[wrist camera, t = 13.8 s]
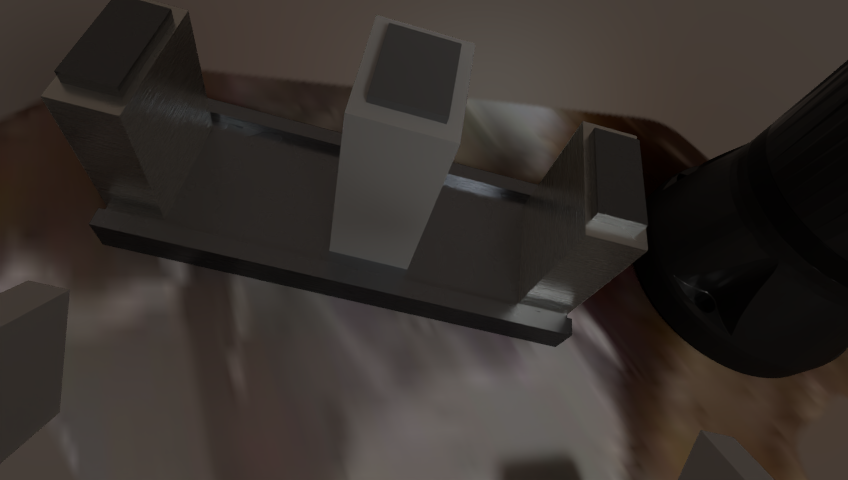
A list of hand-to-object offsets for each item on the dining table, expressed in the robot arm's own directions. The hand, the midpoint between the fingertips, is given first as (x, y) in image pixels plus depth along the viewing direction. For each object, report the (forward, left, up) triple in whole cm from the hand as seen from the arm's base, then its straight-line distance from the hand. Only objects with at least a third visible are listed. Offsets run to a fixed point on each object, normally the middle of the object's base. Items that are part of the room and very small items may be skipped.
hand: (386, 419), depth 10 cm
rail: (+2, -14, -16) cm, 21 cm away
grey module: (+1, -14, -14) cm, 20 cm away
